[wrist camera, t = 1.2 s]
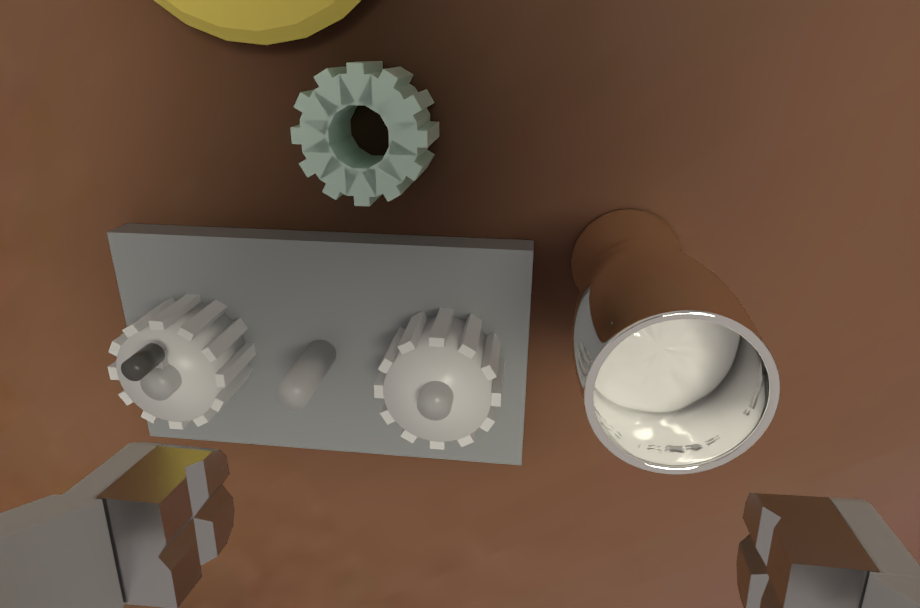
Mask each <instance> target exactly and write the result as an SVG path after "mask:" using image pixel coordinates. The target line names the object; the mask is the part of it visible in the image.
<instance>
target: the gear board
mask: <svg viewBox="0 0 920 608" xmlns="http://www.w3.org/2000/svg"><path fill="white" fill-rule="evenodd" d="M107 235H108V240H109V245H110V250H111V254H112V259H113V264H114V268H115V273H116V278H117V282H118V287H119V292H120V296H121V301H122V306H123V310H124V315H125V320H126V325H127V327H126V328H125V329H123V330H122V331H123V332H124V334H122V335H121V336H119V337H118V338H116V339H115V340H113V341H112V344H111V346H110V349H109V353H111V354H113V355H115V356H117V360H116V361H115V362H114V363H112V364H111V365H110V366H108V371H109V375H110V380H119V381H120V383H121V385H122V387H123V389H124V390H123V391H122V392H121V393H119V394H118V395H119V396H120V397H121V399H122V400H123V401H124V402H125V404H126V405H129V404H131V403H133V402H134V403H135V404H136V405H137V406H139V407H140V408H141V409H143V410H144V411H143V413H142V415H141V417H142V418H144V419H146V420H147V423H148V428H149V432H150V436H157V437H170V438H182V439H195V440H208V441H220V442H233V443H246V444H258V445H271V446H284V447H296V448H309V449H322V450H334V451H347V452H360V453H372V454H385V455H398V456H410V457H423V458H436V459H448V460H461V461H474V462H486V463H499V464H512V465H521V463H522V446H523V428H524V410H525V393H526V375H527V357H528V340H529V322H530V304H531V287H532V269H533V252H534V240H516V239H492V238H468V237H444V236H420V235H397V234H373V233H349V232H325V231H301V230H277V229H253V228H229V227H206V226H182V225H158V224H134V223H127V224H125V225H122V226H120V227H118V228H115V229H113V230H111V231H108V232H107Z"/></svg>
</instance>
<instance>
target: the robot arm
mask: <svg viewBox="0 0 920 608" xmlns="http://www.w3.org/2000/svg"><path fill="white" fill-rule="evenodd" d="M229 474H230V473H229V467H228V462H227V456H226V455H225V454H224V453H223V452H222V451H221V450H218V449H209V448H199V447H189V446H179V445H169V444H165V445H164V444H161V443H147V442H135V443H129V444H128V445H126V446H125V447H124V448H123V449H121V450H120V451H119V452H117V453H116V454H115V455H113V456H112V457H111V458H110V459H108V460H107V461H106V462H104V463H103V464H102V465H100V466H99V467H98V468H97V469H95V470H94V471H93V472H91V473H90V474H89V475H88V476H86V477H85V478H84V479H82V480H81V481H80V482H78V483H77V484H76V485H75V486H73V487H72V488H71V489H69V490H68V491H67V492H65V493H64V494H63V495H50V496H47V497H45V498H42V499H39V500H36V501H33V502H30V503H28V504H25V505H22V506H19V507H16V508H14V509H11V510H8V511H5V512H2V513H0V608H123V607H124V604H132V605H144V606H155V607H166V608H178V607H179V606H180V605H181V603H182V602H183V601H184V599H185V598H186V597H187V595H188V594H189V593H190V592H191V590H192V589H193V588H194V586H195V585H196V584H197V582H198V581H199V580H200V579H201V577H202V572H201V565H202V564H204V563H206V562H208V561H210V560H212V559H213V558H215V557H217V556H218V555H219V554H220V552H221V551H222V549H223V548H224V547H225V545H226V544H227V542H228V539H229V536H230V533H231V530H232V528H233V522H234V503H233V497H232V496H231V495H230V493H229V492H228V491H227V490H226V488H225V487H224V486H223V483H224V482H225V480H226V478H227V477H228V475H229ZM743 519H744V521H745V524H746V526H747V528H748V531H749V533H750V534H749V535H748V536H747V537H746V538H745V539H744V540H742V541H741V542H740V543H739V547H738V556H737V584H738V589H739V594H740V598H741V601H742V604H743V607H744V608H920V565H919V564H918V563H917V562H916V560H915V559H914V558H913V557H912V555H911V554H910V553H909V552H908V550H907V549H906V548H905V546H904V545H903V544H902V543H901V541H900V540H899V539H898V538H897V536H896V535H895V534H894V533H893V531H892V530H891V529H890V528H889V526H888V525H887V524H886V522H885V521H884V520H883V519H882V517H881V516H880V515H879V514H878V512H877V511H876V510H875V509H874V507H873V506H872V505H871V503H869V502H867V501H866V500H864V499H860V498H838V497H812V496H794V495H776V494H758V493H749V495H748V498H747V500H746V502H745V508H744V514H743Z"/></svg>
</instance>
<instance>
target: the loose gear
mask: <svg viewBox="0 0 920 608" xmlns="http://www.w3.org/2000/svg"><path fill="white" fill-rule="evenodd" d="M412 77H413V74H412V73H410V72H409V71H407V70H405V69H404V68H402V67H401V66H400V67H394V68H387V69H383V61H360V62H348V63H346V66H343V67H334V68H326V69H325V70H323V71H322V72H320V73H319V74H317V75H316V76H314V79H315V81H316V82H317V84H318V86H319V87H318V88H316V89H315V90H309V91H304V92H300V94H299V96H298V98H297V101H296V103H295V105H294V108H296V109H297V110H299V111H301V112H302V115H301V117H300V124H299V125H296V126H293V127H290V129H291V140H292V144H302V152H303V154H304V156H305V157H306V159H305V160H304V161H302V162H300V163H299V165H300V167H301V168H302V170H303V171H304V173H305V175H306V176H307V178H308V177H310V176H311V175H313V174H315V173H316V175H317V176H318V178H319V180H321V181H323V182H324V183H326V185H325V187H324V189H323V191H322V192H323V193H325V194H326V195H328V196H330V197H331V198H333V199H335V200H337V199H338V198H339V197H341V196H342V195H343V194H344V195H346V196H354V206H371V205H372V204H373V203H374V202H375V201H376V200H377V199H378V198H379V197H380V196H381V195H382V194H383V195H384V196H385V198H386V200H387V201H388V202H389V201H391V200H393V199H394V198H396V197H398V196H400V195H401V194H402V193H403V192H404V191H405V190H406V189H407V188H408V187H409V186H410V185H411V184H412V183H413V181H415V180H416V179H417V178H418V177H419V176H420V175H421V174H422V173H423V172H424V171H425V169H426V168H427V167H428V166H429V164H430V162H431V160H432V159H433V157H434V155H435V154H433V153H432V152H430V151H429V150H427V149H428V147H429V146H430V145H431V144H432V143H433V142H434V141H435V140H436V139H438V138H439V121H430V113H429V111H428V109H427V107H428V106H430V105H432V104H434V101H433V99H432V97H431V95H430V94H429V92H428V90H427V89H426V90H423V91H421V92H418V91H417V89H416V87H414V86H413V85H411V84H409V83H410V81H411V79H412ZM358 105H365V106H367V107H368V108H370V109H371V110H373V111H375V112H376V113H378V114H380V116H381V118H382V120H383V121H384V123H385V125H386V127H387V128H388V134H389V147H388V149H387V151H386V153H385V155H384V156H377V155H370V154H369V153H367V152H366V151H364V150H362V149H361V148H359V146H358V145H357V143H356V141H355V140H354V138H353V136H352V135H351V118H352V116H353V114H354V112H355V110H356V108H357V106H358Z"/></svg>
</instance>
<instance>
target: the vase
mask: <svg viewBox="0 0 920 608" xmlns="http://www.w3.org/2000/svg"><path fill="white" fill-rule="evenodd" d="M154 1H155V2H156V3H158V4H159V5H161V6H162V7H163V8H165V9H166V10H167V11H169V12H170V13H171V14H173V15H174V16H175V17H177V18H178V19H180V20H181V21H182V22H184V23H185V24H187V25H189V26H191V27H194V28H196V29H199V30H201V31H204V32H206V33H209V34H211V35H214V36H216V37H218V38H221V39H223V40H226V41H234V42H243V43H252V44H261V45H270V44H275V43H281V42H286V41H291V40H297V39H302V38H307V37H309V36H311V35H312V34H314V33H316V32H318V31H320V30H322V29H324V28H326V27H328V26H329V25H331V24H333V23H335V22H337V21H339V20H341V19H343V18H344V17H345V16H346V15H347V14H348V13H349V12H350V11H351V10H352V9H353V8H354V7H355V6H356V5H357V4H358V3H359V2H360V1H361V0H154Z"/></svg>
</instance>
